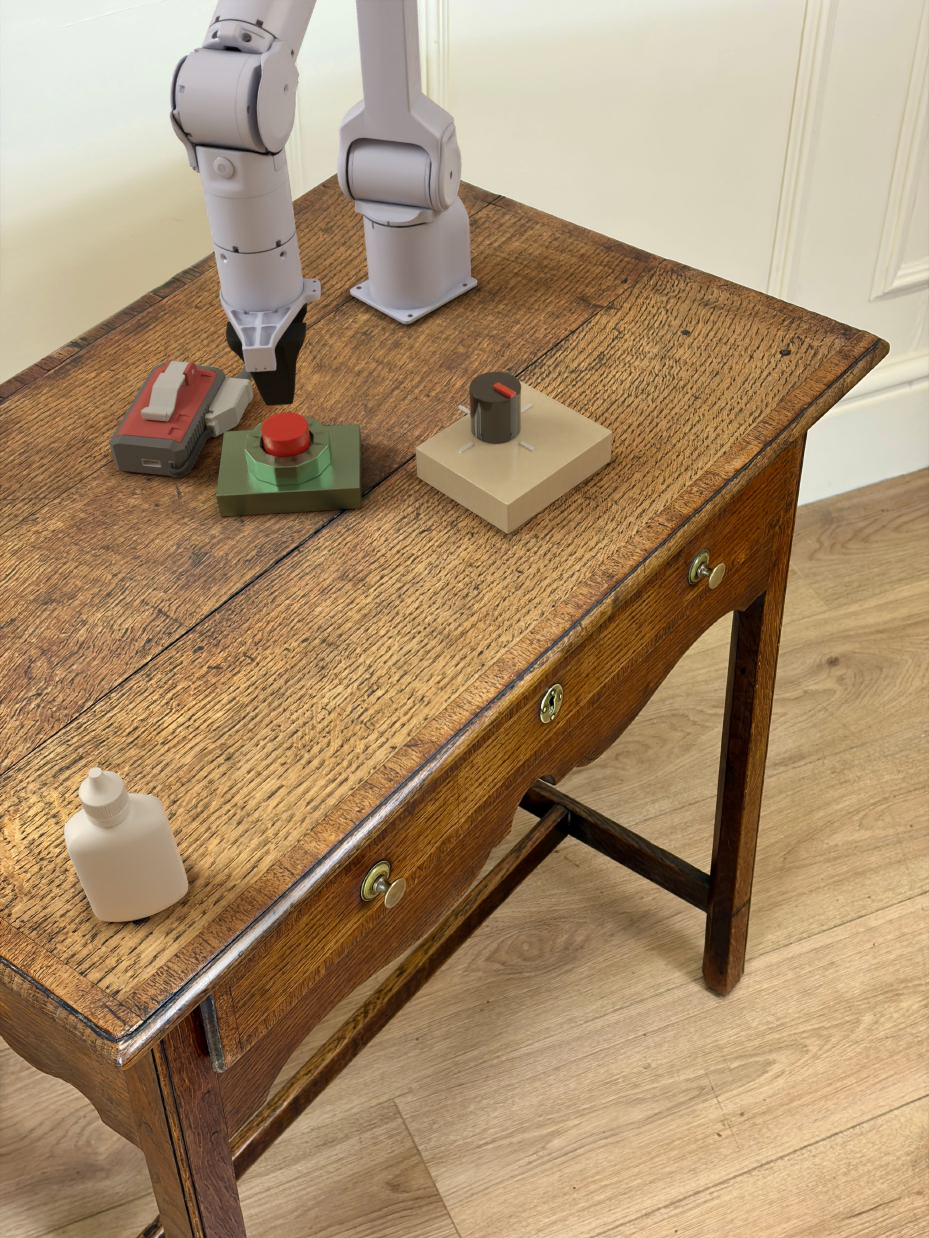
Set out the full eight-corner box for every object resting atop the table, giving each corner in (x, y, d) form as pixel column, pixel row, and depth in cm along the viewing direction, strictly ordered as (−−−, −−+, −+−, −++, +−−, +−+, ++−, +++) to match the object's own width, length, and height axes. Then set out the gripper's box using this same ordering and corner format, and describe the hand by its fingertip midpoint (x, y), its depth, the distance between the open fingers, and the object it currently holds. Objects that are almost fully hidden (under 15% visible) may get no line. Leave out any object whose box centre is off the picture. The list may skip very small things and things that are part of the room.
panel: (510, 404, 110) (510, 373, 108) (610, 461, 104) (613, 429, 102) (407, 471, 104) (405, 439, 102) (507, 534, 99) (507, 503, 96)
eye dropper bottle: (109, 858, 79) (60, 734, 71) (198, 869, 79) (158, 745, 70) (83, 921, 76) (28, 799, 68) (175, 933, 76) (132, 811, 67)
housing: (361, 444, 107) (357, 405, 104) (362, 508, 101) (357, 469, 98) (227, 452, 107) (219, 413, 104) (220, 517, 101) (212, 477, 98)
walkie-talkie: (209, 492, 103) (280, 348, 117) (199, 448, 100) (274, 306, 114) (105, 481, 104) (187, 340, 118) (92, 437, 101) (178, 298, 115)
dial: (460, 428, 103) (458, 384, 100) (495, 406, 105) (494, 361, 102) (496, 450, 101) (495, 405, 98) (531, 427, 103) (532, 382, 100)
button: (311, 428, 103) (308, 410, 101) (310, 457, 100) (307, 439, 99) (265, 431, 102) (262, 413, 101) (263, 460, 100) (260, 442, 99)
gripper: (309, 286, 83) (331, 453, 93) (315, 177, 93) (334, 338, 103) (199, 292, 83) (232, 458, 93) (217, 183, 93) (245, 343, 103)
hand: (279, 396), depth 98 cm, fingers closed
